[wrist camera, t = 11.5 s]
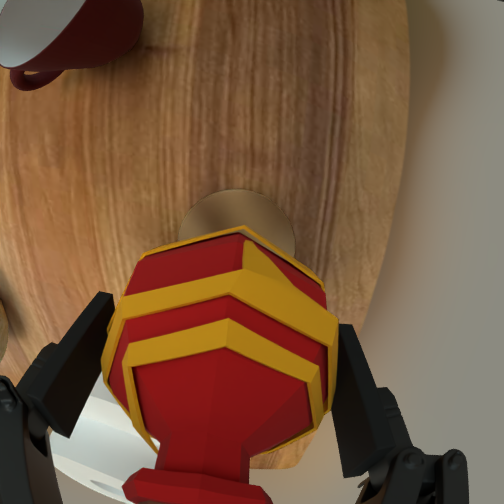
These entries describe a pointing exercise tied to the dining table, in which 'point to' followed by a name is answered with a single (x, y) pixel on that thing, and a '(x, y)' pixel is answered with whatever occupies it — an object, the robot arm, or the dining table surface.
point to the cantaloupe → (3, 331)
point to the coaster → (240, 218)
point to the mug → (64, 36)
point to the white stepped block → (102, 446)
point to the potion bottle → (218, 363)
